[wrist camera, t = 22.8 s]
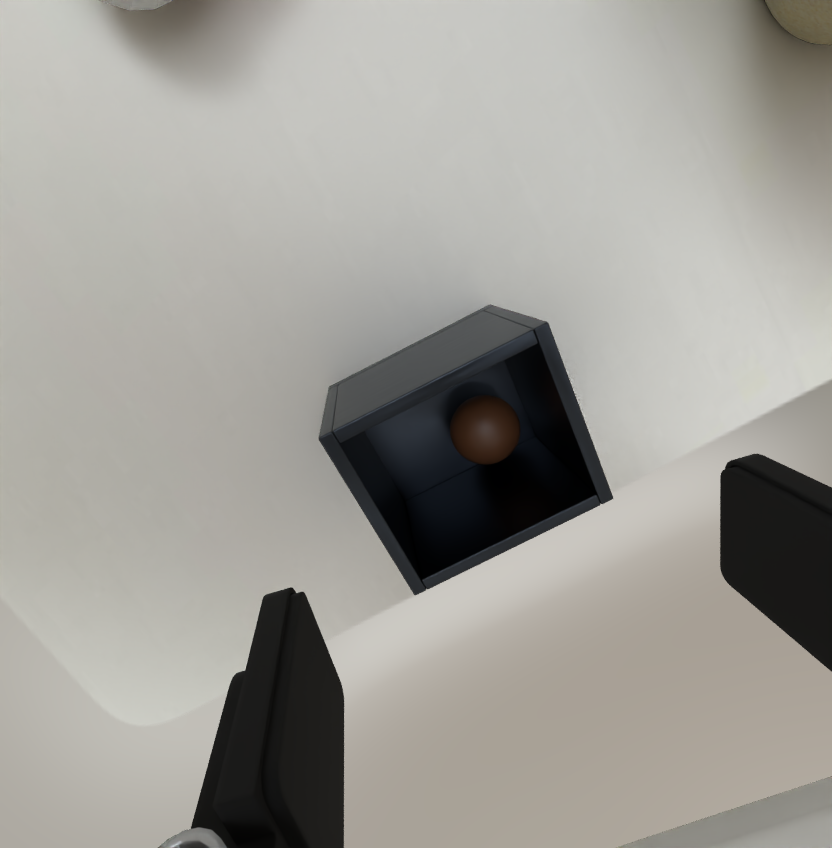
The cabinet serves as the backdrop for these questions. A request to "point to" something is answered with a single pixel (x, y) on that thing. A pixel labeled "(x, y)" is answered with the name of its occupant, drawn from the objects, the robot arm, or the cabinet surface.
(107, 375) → the cabinet surface
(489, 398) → the ball
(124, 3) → the ice cream cone
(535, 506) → the waste bin
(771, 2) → the plant pot
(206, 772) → the robot arm
